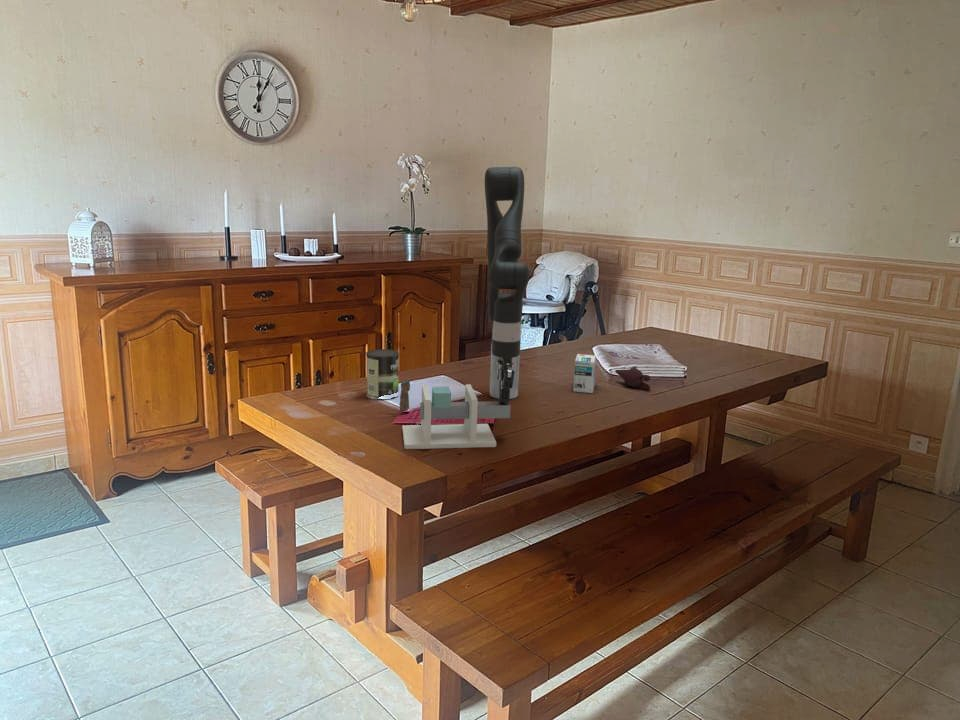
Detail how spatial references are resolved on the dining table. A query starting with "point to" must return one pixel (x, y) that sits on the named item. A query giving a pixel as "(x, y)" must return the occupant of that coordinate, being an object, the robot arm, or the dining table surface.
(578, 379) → the light bulb box
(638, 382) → the brown irregular piece
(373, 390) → the coffee can
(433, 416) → the shaft
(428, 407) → the bracket
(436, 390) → the spacer
